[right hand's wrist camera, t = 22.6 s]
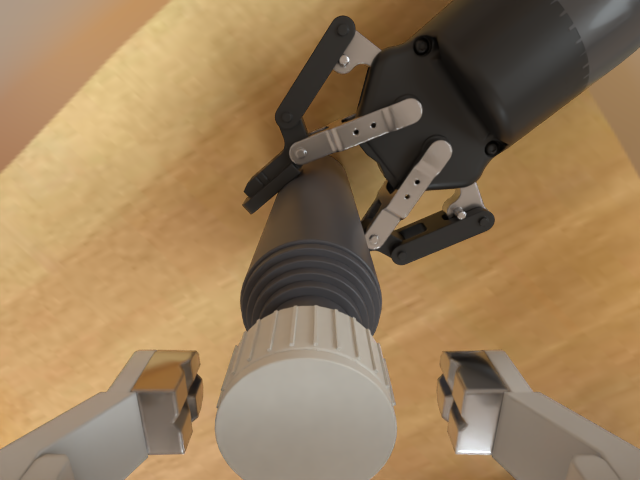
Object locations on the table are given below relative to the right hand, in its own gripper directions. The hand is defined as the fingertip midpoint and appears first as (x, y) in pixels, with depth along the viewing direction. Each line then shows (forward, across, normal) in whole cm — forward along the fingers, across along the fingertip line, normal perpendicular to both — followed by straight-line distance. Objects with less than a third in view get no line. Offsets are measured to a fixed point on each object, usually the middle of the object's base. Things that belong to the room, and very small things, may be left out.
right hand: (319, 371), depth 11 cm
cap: (-2, 0, 0) cm, 2 cm away
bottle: (+20, 0, 0) cm, 20 cm away
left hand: (+14, -2, -2) cm, 14 cm away
